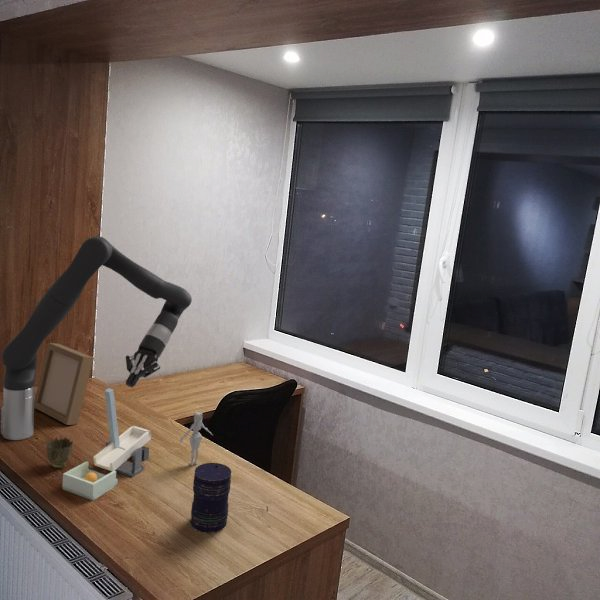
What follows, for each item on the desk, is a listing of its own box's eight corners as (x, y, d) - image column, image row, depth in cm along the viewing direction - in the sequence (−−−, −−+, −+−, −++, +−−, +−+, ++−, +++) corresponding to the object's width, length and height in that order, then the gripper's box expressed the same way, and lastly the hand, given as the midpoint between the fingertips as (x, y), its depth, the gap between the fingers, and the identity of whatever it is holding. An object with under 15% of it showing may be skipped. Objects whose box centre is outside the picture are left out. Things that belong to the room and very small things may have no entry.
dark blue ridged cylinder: (220, 536, 147) (225, 483, 144) (184, 529, 148) (188, 476, 145) (231, 516, 156) (236, 466, 154) (198, 509, 158) (202, 459, 155)
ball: (79, 483, 161) (83, 470, 162) (87, 483, 165) (91, 471, 165) (89, 487, 160) (93, 474, 161) (97, 486, 163) (101, 474, 164)
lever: (91, 464, 169) (83, 403, 161) (131, 432, 184) (125, 375, 177) (115, 472, 166) (108, 411, 158) (153, 439, 181) (148, 382, 173)
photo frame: (66, 427, 200) (69, 359, 196) (32, 409, 212) (34, 345, 208) (102, 416, 212) (105, 352, 208) (68, 400, 224) (70, 339, 220)
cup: (76, 468, 173) (77, 443, 171) (52, 475, 167) (52, 450, 166) (65, 458, 178) (66, 435, 176) (41, 465, 172) (42, 440, 171)
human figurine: (207, 458, 188) (211, 407, 185) (213, 463, 185) (217, 411, 182) (174, 466, 180) (178, 413, 177) (180, 471, 177) (184, 418, 174)
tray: (62, 489, 161) (62, 473, 160) (88, 474, 170) (88, 460, 169) (92, 500, 157) (93, 484, 156) (117, 485, 166) (118, 470, 165)
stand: (100, 466, 175) (101, 443, 174) (127, 451, 187) (128, 430, 186) (132, 477, 171) (133, 454, 170) (157, 461, 183) (158, 439, 181)
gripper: (134, 330, 185) (106, 375, 176) (167, 338, 181) (141, 384, 172) (144, 343, 191) (117, 387, 182) (176, 350, 186) (151, 396, 177)
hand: (129, 385), depth 177 cm, fingers closed
